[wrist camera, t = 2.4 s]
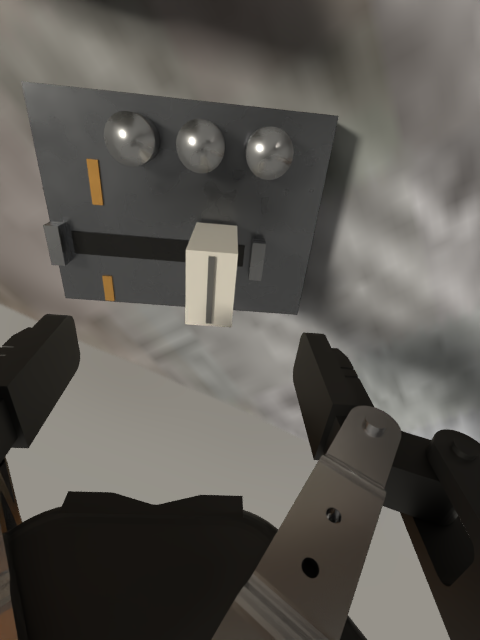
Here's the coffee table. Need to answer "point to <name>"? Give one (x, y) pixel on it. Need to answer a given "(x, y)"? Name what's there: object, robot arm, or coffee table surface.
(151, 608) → the robot arm
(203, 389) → the coffee table surface
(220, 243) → the fader tab
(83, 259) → the console
